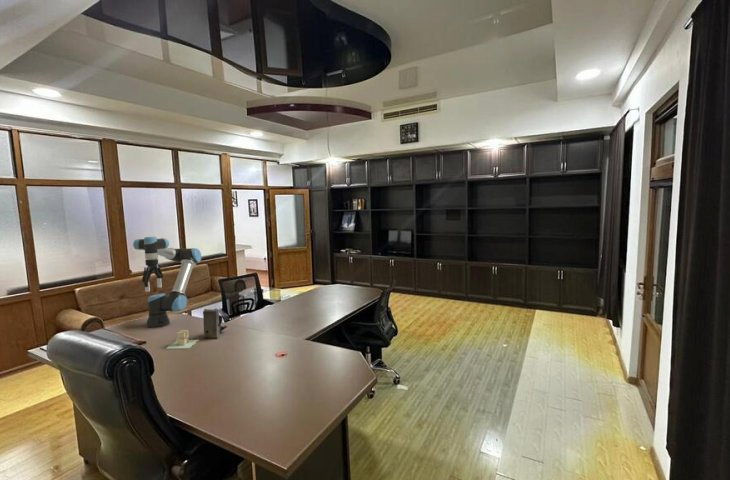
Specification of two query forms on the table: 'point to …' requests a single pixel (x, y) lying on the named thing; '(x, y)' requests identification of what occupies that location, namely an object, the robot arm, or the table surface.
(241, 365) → the table surface
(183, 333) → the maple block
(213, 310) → the grey upright block
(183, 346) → the rest mat
